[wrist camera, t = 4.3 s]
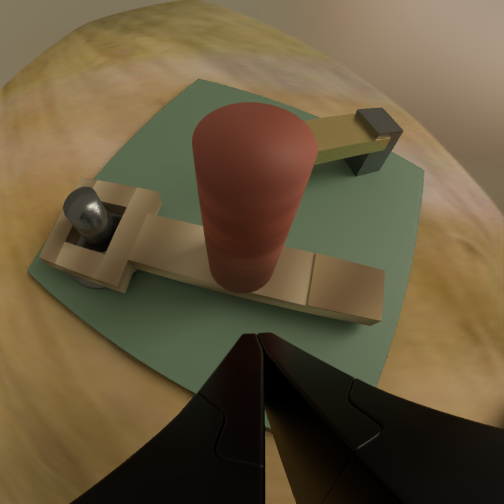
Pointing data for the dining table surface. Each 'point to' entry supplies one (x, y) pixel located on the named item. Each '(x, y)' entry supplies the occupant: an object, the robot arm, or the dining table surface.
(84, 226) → the pintle
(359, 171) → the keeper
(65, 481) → the dining table surface
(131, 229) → the latch bar
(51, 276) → the latch board
